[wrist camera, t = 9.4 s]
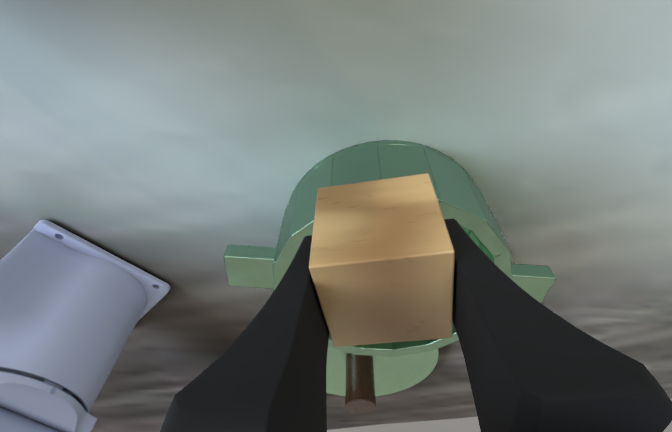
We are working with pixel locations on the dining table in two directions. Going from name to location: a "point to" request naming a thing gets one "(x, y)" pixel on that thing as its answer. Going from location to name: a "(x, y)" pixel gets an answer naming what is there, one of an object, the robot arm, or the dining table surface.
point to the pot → (376, 164)
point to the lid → (374, 376)
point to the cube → (383, 262)
